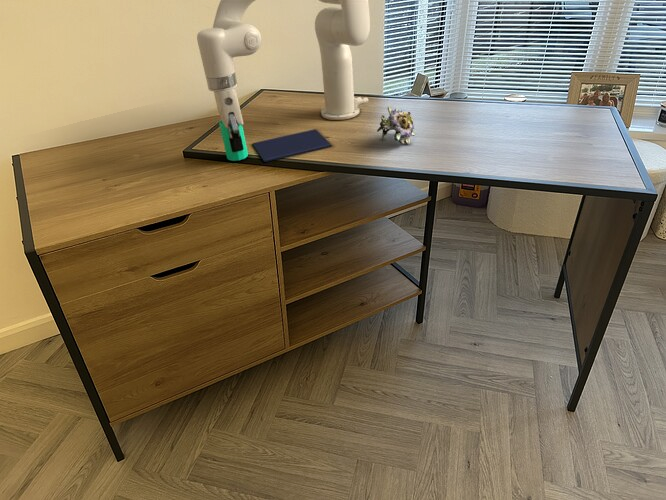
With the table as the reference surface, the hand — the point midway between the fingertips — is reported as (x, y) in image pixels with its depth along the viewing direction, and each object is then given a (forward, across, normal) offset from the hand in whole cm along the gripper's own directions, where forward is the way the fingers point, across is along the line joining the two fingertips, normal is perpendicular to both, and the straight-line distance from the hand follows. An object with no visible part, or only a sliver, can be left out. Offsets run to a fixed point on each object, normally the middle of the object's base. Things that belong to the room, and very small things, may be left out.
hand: (235, 146), depth 134 cm
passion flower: (+4, -13, -43) cm, 45 cm away
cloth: (+3, 0, -16) cm, 16 cm away
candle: (+3, 0, 0) cm, 3 cm away
